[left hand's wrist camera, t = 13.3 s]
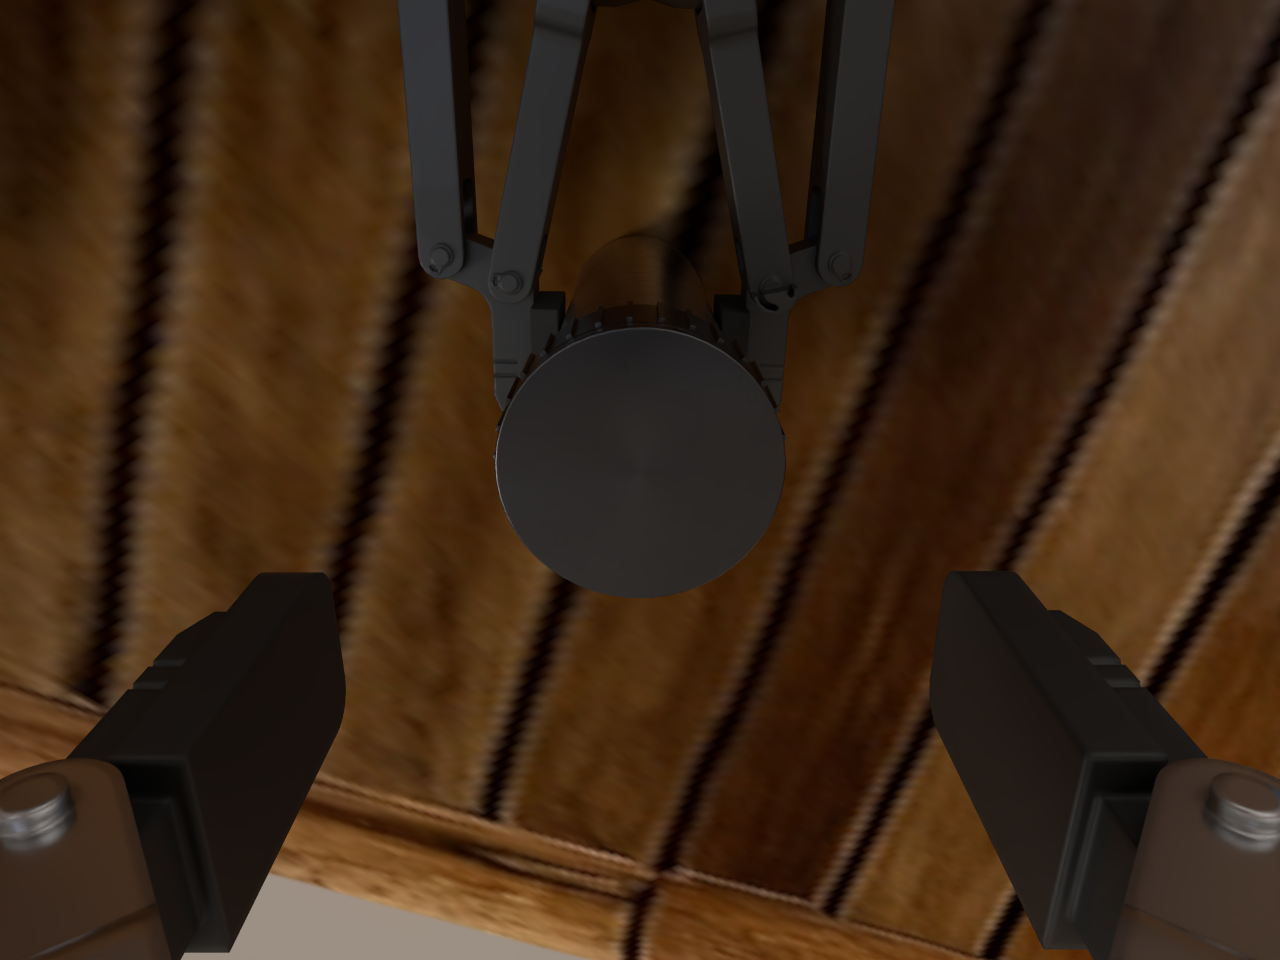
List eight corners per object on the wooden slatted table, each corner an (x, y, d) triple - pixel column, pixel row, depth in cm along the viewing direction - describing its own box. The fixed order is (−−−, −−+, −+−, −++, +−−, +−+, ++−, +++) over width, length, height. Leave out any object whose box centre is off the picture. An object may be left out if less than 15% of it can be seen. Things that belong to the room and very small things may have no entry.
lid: (697, 591, 20) (703, 643, 18) (464, 490, 19) (445, 533, 17) (823, 374, 18) (846, 405, 16) (573, 251, 17) (564, 268, 15)
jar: (667, 382, 33) (691, 602, 18) (555, 329, 32) (484, 512, 17) (724, 270, 31) (803, 409, 16) (608, 212, 31) (581, 303, 16)
